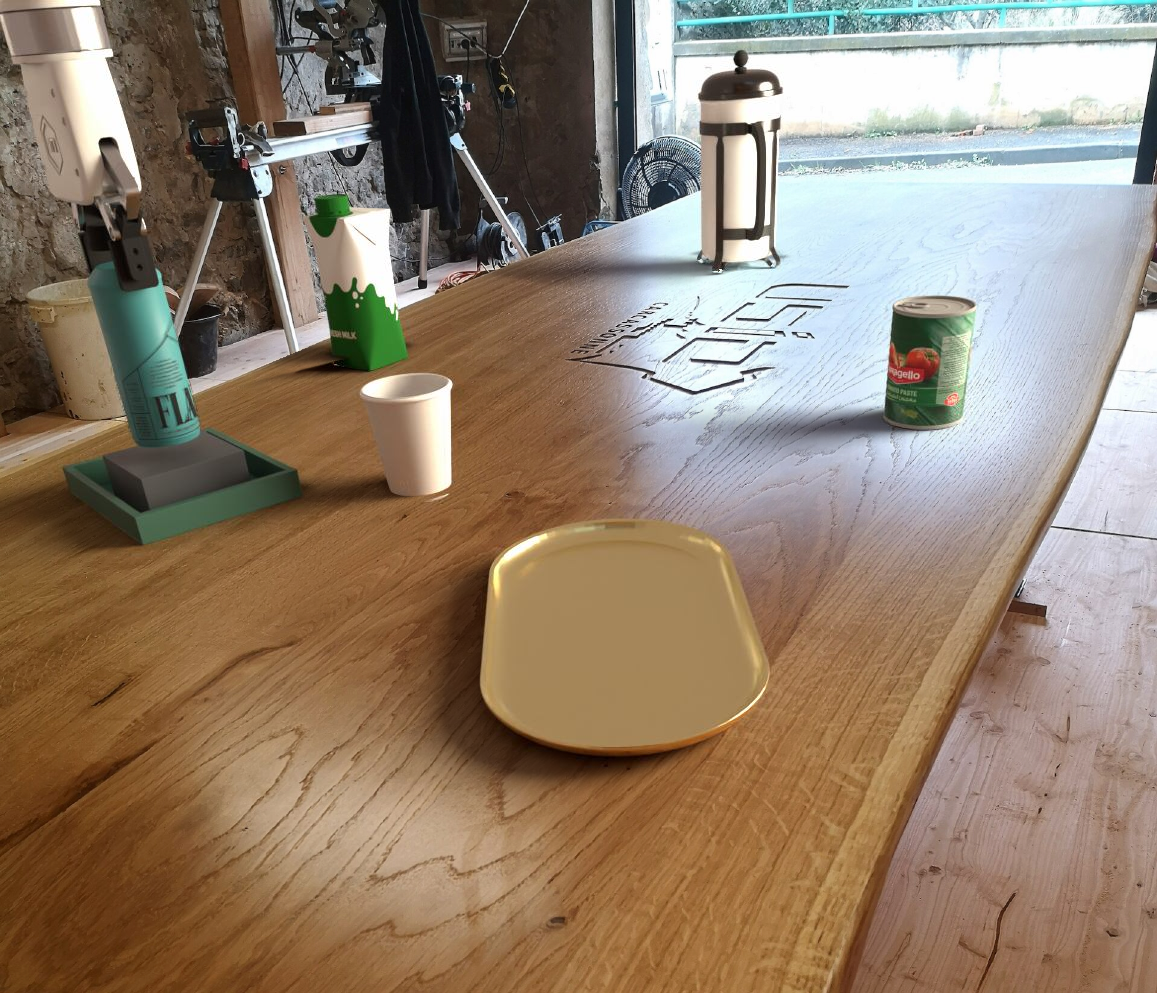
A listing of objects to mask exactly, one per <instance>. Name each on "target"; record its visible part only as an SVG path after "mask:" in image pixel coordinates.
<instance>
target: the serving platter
mask: <svg viewBox="0 0 1157 993" xmlns="http://www.w3.org/2000/svg"><path fill="white" fill-rule="evenodd" d="M730 552H731V551H730V550H729V548H727V546H726V545H725V544H724V543H722V542H721V541H720V540H718V539H717V538H716V537H714V536H712V534H711V535H710V534H709V533H707V532H705V531H702V530H699V529H697V528H694V527H691V526H688V525H684V524H680V523H676V522H670V521H666V520H658V519H649V518H632V517H631V518H630V517H629V518H625V517H623V518H600V519H592V520H584V521H578V522H577V521H576V522H571V523H567V524H561V525H557V526H555V527H551V528H547V529H544V530H542V531H537V532H536V533H533V534H531V535H528V536H526V537H524V538H522V539H520V540H518V541H516V542H514V543H512V544H511V545H510V546H508V547H507V548H505V549H504V550H503V551H501V553H500V554H498V556H497V557H496V558H495V559H494V561H493V562H492V564H491V566H490V569H489V571H488V572H489V573H488V581H487V582H488V583H487V593H486V594H487V595H486V603H485V604H486V605H485V606H486V607H485V617H484V628H483V640H482V651H481V663H480V673H479V690H480V694H481V698H482V700H483V703H484V704H485V705H486V707H487V708H488V710H489V712H490V713H492V715H493V716H494V717H495V718H496V719H497V720H498V721H500V723H502V724H503V725H504V726H505V727H506V728H508V729H510V730H511V731H513V732H514V733H516V734H517V735H519V736H521V737H523V738H525V739H526V740H529V741H532V742H534V743H536V744H538V745H541V746H544V747H548V748H551V749H555V750H558V751H562V752H567V753H572V754H576V755H577V754H578V755H587V756H596V757H633V756H634V757H635V756H644V755H652V754H659V753H664V752H669V751H674V750H677V749H681V748H682V749H683V748H685V747H688V746H689V747H690V746H692V745H695V744H697V743H700V742H703V741H705V740H707V739H710V738H712V737H714V736H716V735H718V734H720V733H722V732H724V731H726V730H727V729H729V728H731V727H732V726H734V725H735V724H737V723H738V722H740V721H741V719H743V718H744V717H745V716H746V715H748V714H749V713H750V712H751V711H752V710H753V709H754V708H755V707H756V705H757V704H758V703H759V701H760V700H761V699H762V698H763V696H764V694H765V692H766V690H767V687H768V685H769V681H770V673H771V672H770V664H769V659H768V656H767V653H766V651H765V647H764V645H763V643H762V642H763V641H762V639H761V637H760V633H759V631H758V628H757V625H756V622H755V620H754V617H753V616H754V615H753V613H752V610H751V608H750V604H749V602H748V599H747V597H746V593H745V590H744V587H743V585H742V582H741V579H740V576H739V573H738V571H737V568H736V564H735V562H734V560H733V556H732V554H731V553H730Z"/></svg>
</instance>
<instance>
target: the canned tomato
mask: <svg viewBox="0 0 1157 993" xmlns="http://www.w3.org/2000/svg"><path fill="white" fill-rule="evenodd" d="M891 308H892V316H891V323H890V324H891V325H890V339H889V350H888V362H887V373H886V381H885V382H886V386H885V397H884V408H883V409H884V411H883V414H882V417H883V420H884V422H886V423H888V424H890V425H892V426H895V427H898V428H901V429H909V430H921V431H922V430H923V431H927V430H928V431H931V430H942V429H947V428H950V427H954V426H957V425H958V424H960V423H961V422H962V421H963V419H964V408H965V401H966V394H967V385H968V378H969V369H970V361H971V354H972V345H973V336H974V328H975V319H976V310H977V308H978V305H977V302H976V301H974V300H972V299H969V298H965V297H961V296H956V295H955V296H954V295H940V294H939V295H918V296H912V297H906V298H901V299H899V300H897V301H895V302H894V303H892V307H891Z"/></svg>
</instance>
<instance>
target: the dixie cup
mask: <svg viewBox="0 0 1157 993" xmlns="http://www.w3.org/2000/svg"><path fill="white" fill-rule="evenodd" d="M452 387H453V382H452V380H451V379H450V378H448V377H446V376H444V375H441V374H438V373H428V372H413V373H401V374H395V375H389V376H384V377H381V378H378V379H375V380H372V381H369V382H368V383H366V384H364V385H363V386H362V387H361V389H360V390H359V394H358V395H359V397H360V398H361V399H362V401H363V403H364V406H365V410H366V413H367V417H368V420H369V424H370V427H371V430H372V434H373V437H374V440H375V444H376V447H377V450H378V454H379V458H380V461H381V464H382V468H383V471H384V474H385V478H386V481H387V485H388V489H389V491H390V492H391V493H392V494H394V495H397V496H401V497H421V496H428V495H432V494H436V493H438V492H442V491H444V490H446V489H448V488H449V487H450V486H451V484H452V442H451V441H452V438H451V435H452V434H451V432H452V431H451V430H452V428H451V427H452V426H451V425H452V424H451V419H452V418H451V390H452V389H453V388H452ZM448 495H449V493H446V494H444V495H440V496H436V497H433V498H431V499H427V500H425V501H422V502H421V504H425V503H430V502H434V501H438V500H440V499H443V498H445V497H447V496H448Z"/></svg>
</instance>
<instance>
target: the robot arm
mask: <svg viewBox="0 0 1157 993" xmlns="http://www.w3.org/2000/svg"><path fill="white" fill-rule="evenodd" d="M0 24H1V28H2V31H3V34H4V38H5V41H6V45H7V47H8V48H7V49H8V51H9V53H10V58H11V61H12V64H13V65H20V68H21V75H22V82H23V87H24V94H25V98H26V102H27V107H28V111H29V115H30V119H31V123H32V124H31V125H32V128H33V132H34V136H35V140H36V143H37V147H38V148H37V149H38V152H39V155H40V159H41V162H42V167H43V171H44V175H45V178H46V182H47V185H48V189H49V191H50V193H51V194H52V195H53V196H54V197H55V198H57V199H58V200H61V201H62V202H67V204H68V205H69V208H71V212H72V218H73V223H74V224H73V225H74V226H75V229H76V231H77V235H78V239H79V243H80V246H81V249H82V252H83V253H82V254H83V257H84V260H85V263H86V266H87V270H88V273H89V276H90V275H91V273H92V272H93V270H94V269H95V267H96V266H98V265H100V264H103V263H107V262H112V261H113V263H114V267H115V271H116V274H117V278H118V281H119V285H120V288H121V290H122V291H125V292H132V291H137V290H142V289H147V288H152V287H157V286H158V284H159V280H158V276H157V272H156V269H157V268H156V265H155V260H154V257H153V254H152V249H151V245H150V242H149V238H148V230H147V226H146V223H145V220H144V218H143V214H144V210H143V208H142V206H141V199H142V198H141V197H142V182H141V176H140V172H139V167H138V162H137V158H136V155H135V151H134V147H133V142H132V139H131V135H130V132H129V129H128V125H127V122H126V119H125V115H124V112H123V108H122V105H121V103H120V98H119V95H118V93H117V89H116V86H115V83H114V81H113V77H112V74H111V71H110V69H109V66H108V62H107V59H106V58H112V57H114V53H113V49H112V45H111V41H110V37H109V34H108V33H109V32H108V31H107V30H108V29H107V25H106V21H105V17H104V13H103V10H102V7H101V1H100V0H0ZM112 209H114V212H113V211H112ZM114 213H115V215H114ZM100 220H104V222H105V224H106V226H107V229H108V231H109V234H110V236H111V238H112V240H108V241H107V242H108V245H109V249H110V251H91V250H90V248H89V244H88V237H87V232H86V225H87V224H89V223H92V222H96V221H100Z"/></svg>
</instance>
